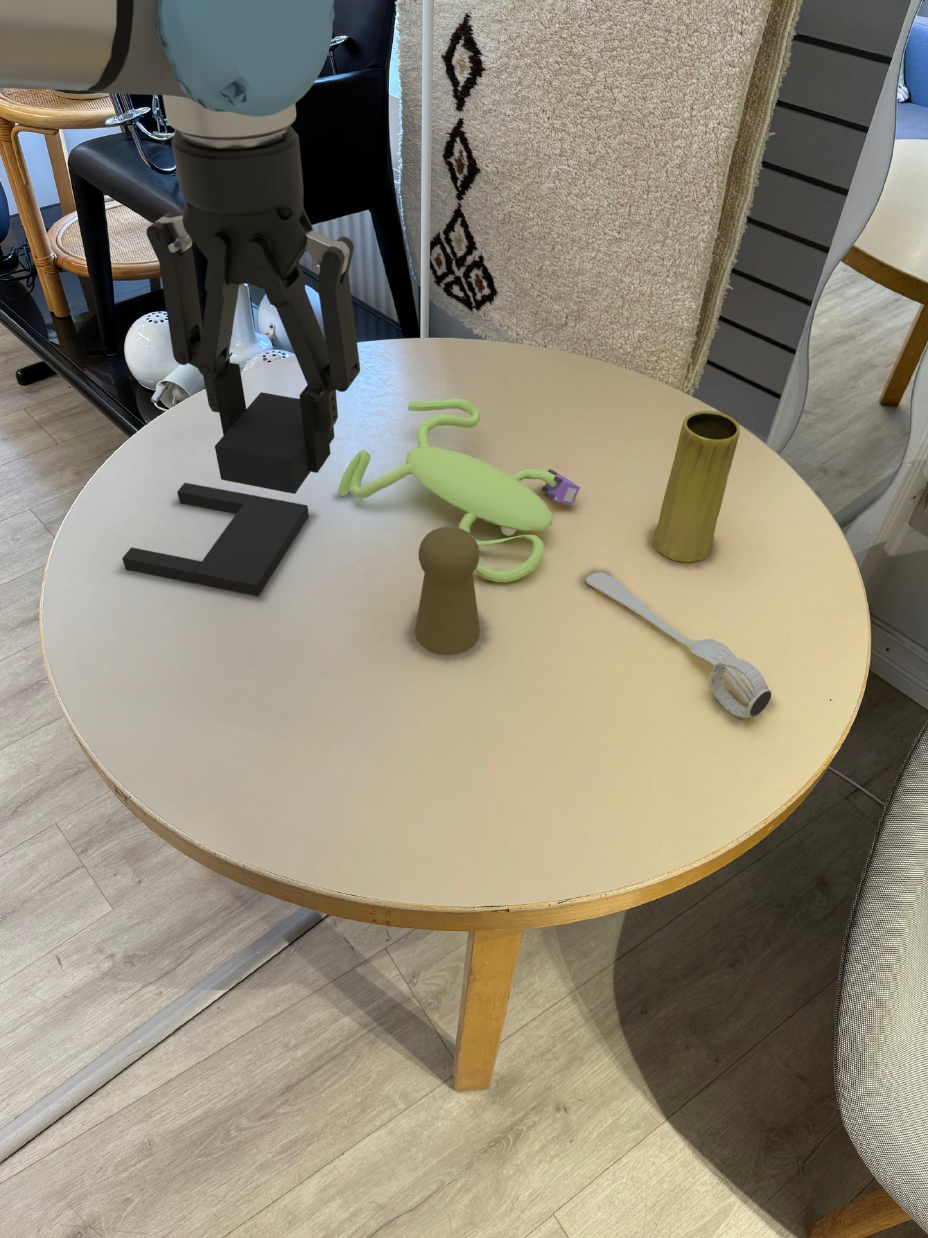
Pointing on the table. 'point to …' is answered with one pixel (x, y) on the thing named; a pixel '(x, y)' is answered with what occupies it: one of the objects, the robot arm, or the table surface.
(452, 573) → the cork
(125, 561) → the black pad
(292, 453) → the charcoal pad
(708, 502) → the vase
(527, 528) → the figurine
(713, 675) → the ring
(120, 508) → the table surface
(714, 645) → the fork
